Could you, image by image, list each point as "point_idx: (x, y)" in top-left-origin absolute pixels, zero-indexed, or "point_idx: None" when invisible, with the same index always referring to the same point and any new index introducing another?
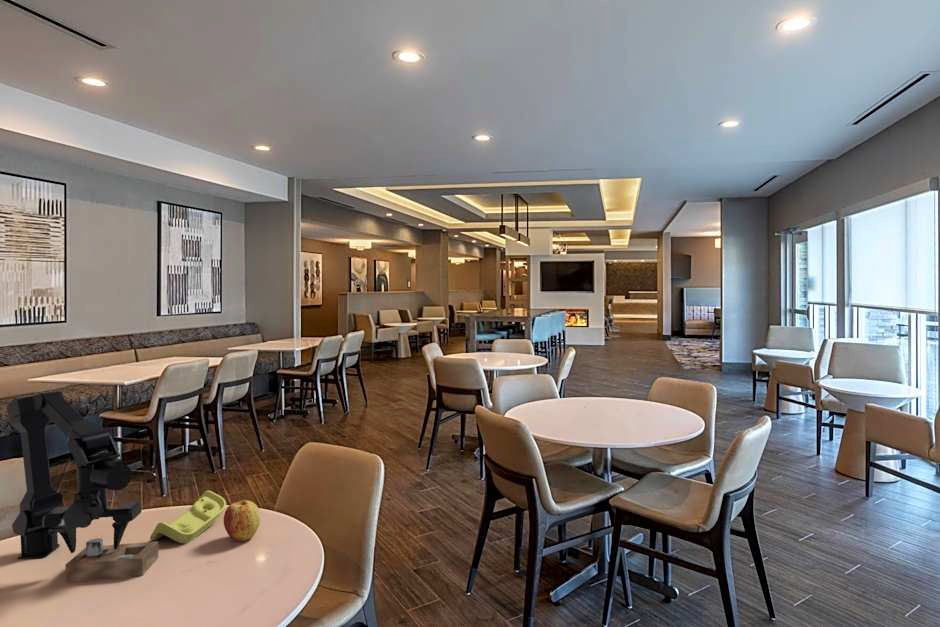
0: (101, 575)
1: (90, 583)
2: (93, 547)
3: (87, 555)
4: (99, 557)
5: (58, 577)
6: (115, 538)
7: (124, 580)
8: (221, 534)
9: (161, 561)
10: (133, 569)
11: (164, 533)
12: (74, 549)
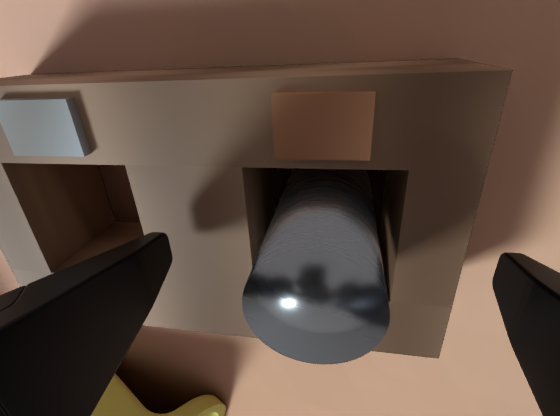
0: (229, 69)
1: (276, 12)
2: (293, 232)
3: (357, 207)
4: (278, 203)
5: (534, 145)
6: (70, 276)
7: (88, 25)
8: None
9: None
10: (39, 77)
11: (127, 403)
12: (501, 287)
